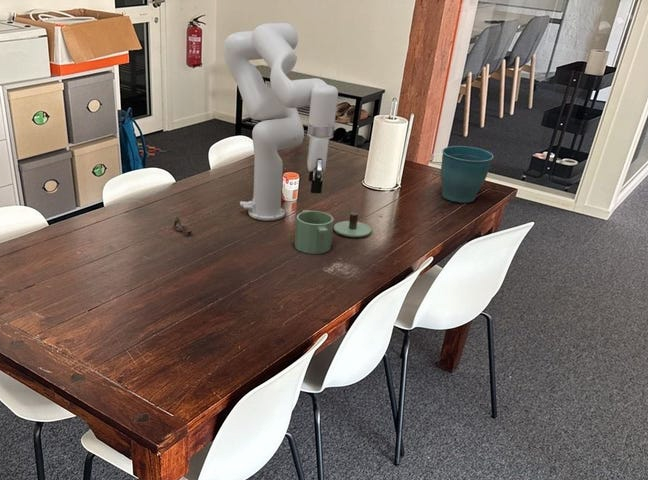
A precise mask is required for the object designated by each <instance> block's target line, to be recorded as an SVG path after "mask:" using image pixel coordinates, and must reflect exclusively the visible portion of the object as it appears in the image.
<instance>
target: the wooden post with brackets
mask: <svg viewBox="0 0 648 480" xmlns="http://www.w3.org/2000/svg"><path fill="white" fill-rule="evenodd" d="M173 220H174V222H173V224H172V228H173V229H175V230H176V231H177V232H181V229H182V230H183V232H184V233H185V236H186V237H188V236H191V235H192V230H191V229H188V228H187V227H186V226H185V224H184V223H183V222H182V221H181V220H180V218H179V216H176V215H174V216H173ZM177 224H178V225H177Z"/></svg>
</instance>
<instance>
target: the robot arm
mask: <svg viewBox="0 0 648 480" xmlns="http://www.w3.org/2000/svg"><path fill="white" fill-rule="evenodd" d="M298 42H299V36H298V31H297V30H296V28H295V27H294V26H293V24H290V23H288V22H272V23H271V22H269V23H263V24H260V25H258V26H257V27H255V28H254V29H253V30H245V31H243V30H242V31H237V32H233V33H231V34H230V35H228V36H227V38H226V39H225V41H224V45H223V56H224V61H225V64H226V66H227V69H228V71H229V73H230V74H231V77H232V78H233V80H234V81H235V83H236V85H237V88H238V90H239V93H240V96H241V99H242V102H243V105H244V107H245V110H246V112H247V114H248V116H249V118H250V119H252V120H254V121H260V122H258V123H256V124H255V125H254V126H253V129H252V133H251V138H252V145H253V157H254V158H253V162H254V163H253V193H252V194H253V196H252V199H251V200H248V201H242V200H241V201H239V208H243V210H248V212H247V213H248V215H249V217H251V218H252V219H255V220H257V221H258V220H259V221H264V222H265V221H266V222H267V221H268V222H269V221H270V222H271V221H278V220H281V219H283V218H284V217H285V215H286V212H285V210H284V208H282V207H281V206H282V187H283V171H284V170H283V168H284V164H283V159H282V158H281V156H280V155H279V152H278V151H281V150H286V149H292V148H296V147H299V146H300V145H301V144H302V143H303V141H304V139H305V129H304V125H303V121H302V119H301V117H300V114H299V111H298V108H307V107H309V116H308V125H307V136H308V137H309V143H308V150H307V151H308V152H307V159H306V165H307V171H308V172H309V173H308V181H309V182H311V183H310V193H311V194H322V191H323V181H324V179H323V175H324V172H326V166H327V160H328V151H329V143H330V142H329V141H330V139H333V138H334V133H335V123H336V116H337V115H336V114H337V106H338V96H339V90H338V88H337V87H336V86H334V85H331V84H327V83H326V81H324V80H323V79H321V78H318V77H315V78H314V77H313V78H302V79H290V78H289V77H288V76H287V75H288V74H289V73H291V72H292V70H293V69H294V68H295V66H296V64H297V60H298V56H297V52H296V51H295V50H296V48H297V46H298ZM254 60H255V61H256V60H263V61H264V62H265V63H266V65H267V66H268V67H269V69H270V75H269V80H270V87H268V86H267V85H266V83H265V81H264V78H263V74H261V72H260V70H259V69H258V68H256V66H254V65H253V64H252V63H251V62H250V61H254Z"/></svg>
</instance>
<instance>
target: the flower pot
mask: <svg viewBox="0 0 648 480" xmlns="http://www.w3.org/2000/svg"><path fill="white" fill-rule="evenodd" d="M494 158H495V157H494V155H493V153H492V152H490V151H488V150H485V149H483V148H478V147H473V146H466V145H451V146H447V147H444V148H443V149H442V155H441V165H440V166H441V167H440V181H441V188H442V193H441V196H442V198H443V199H445V200H446V201H449V202H453V203H460V204H469V203H472V202H474V201H475V200H476V197H477V195H478V193H479V191H480V190H481V188H482V186H483V185H484V183H485V181H486V179H487V177H488V173H489V170H490V167H491V166H492V162H493V159H494Z"/></svg>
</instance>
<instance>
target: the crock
mask: <svg viewBox="0 0 648 480" xmlns="http://www.w3.org/2000/svg"><path fill="white" fill-rule="evenodd" d="M334 218H335V217H334V216H332V214H329V213H327V212H324V211H318V210H310V209H303V210H302V211H301V212H299V213H298V214H296V217H295V233H294V248H295V249H296V250H298V251H299V252H301V253H305V254H312V255H319V254H324V253H325V254H326V253H327V252H329V251H330V250H331V248H332V240H333V231H334Z"/></svg>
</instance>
